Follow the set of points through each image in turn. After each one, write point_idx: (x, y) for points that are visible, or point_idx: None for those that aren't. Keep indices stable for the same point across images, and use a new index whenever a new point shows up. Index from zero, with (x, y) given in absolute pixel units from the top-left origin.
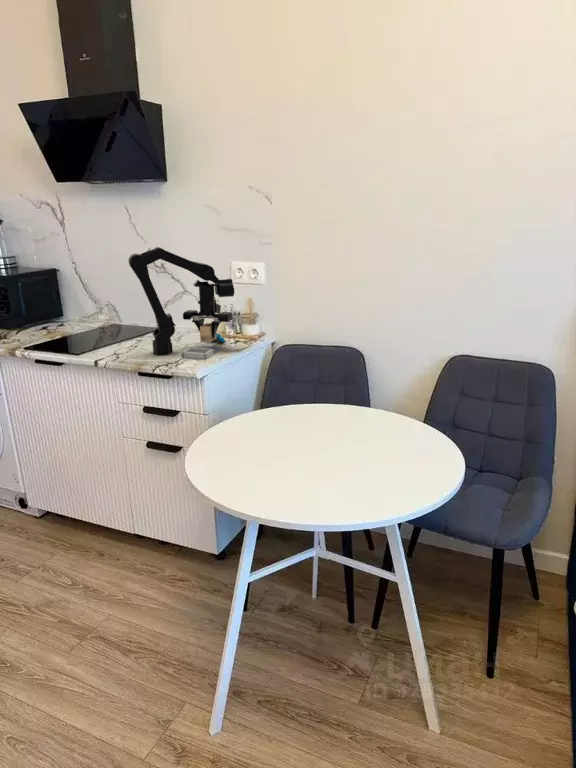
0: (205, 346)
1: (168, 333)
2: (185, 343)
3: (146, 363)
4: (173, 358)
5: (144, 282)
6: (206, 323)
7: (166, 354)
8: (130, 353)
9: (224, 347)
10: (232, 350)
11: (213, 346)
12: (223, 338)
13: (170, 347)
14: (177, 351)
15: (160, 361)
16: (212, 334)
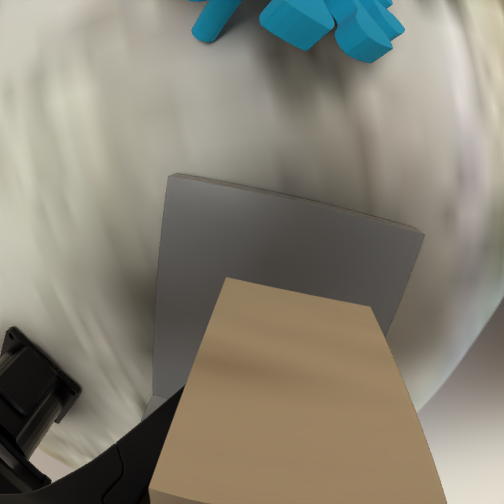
0: (211, 212)
1: None
2: (22, 55)
3: (61, 453)
4: (106, 425)
5: None
6: (156, 501)
7: (59, 411)
8: None
9: (416, 241)
10: (466, 246)
11: (300, 204)
12: (401, 33)
13: (40, 407)
14: (45, 295)
15: (86, 447)
16: None
